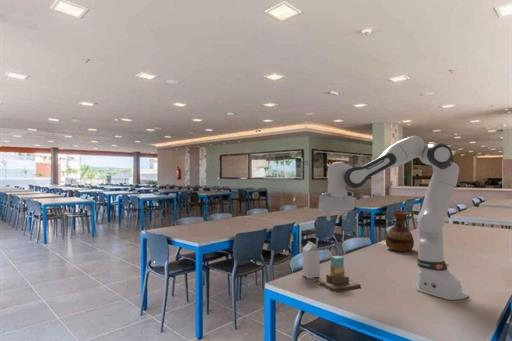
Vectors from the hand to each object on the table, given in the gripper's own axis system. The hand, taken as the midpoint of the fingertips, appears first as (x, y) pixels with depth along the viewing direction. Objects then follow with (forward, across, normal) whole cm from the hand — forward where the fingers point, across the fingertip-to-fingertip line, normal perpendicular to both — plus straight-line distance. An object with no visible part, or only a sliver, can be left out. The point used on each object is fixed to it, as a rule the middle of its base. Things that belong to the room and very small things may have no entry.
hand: (336, 219), depth 163 cm
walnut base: (+33, 0, 0) cm, 33 cm away
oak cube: (+29, 0, 0) cm, 29 cm away
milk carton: (+33, -5, +17) cm, 38 cm away
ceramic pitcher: (+33, +93, +47) cm, 109 cm away
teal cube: (+24, 0, 0) cm, 24 cm away
